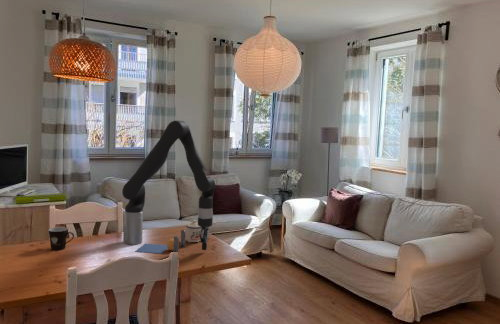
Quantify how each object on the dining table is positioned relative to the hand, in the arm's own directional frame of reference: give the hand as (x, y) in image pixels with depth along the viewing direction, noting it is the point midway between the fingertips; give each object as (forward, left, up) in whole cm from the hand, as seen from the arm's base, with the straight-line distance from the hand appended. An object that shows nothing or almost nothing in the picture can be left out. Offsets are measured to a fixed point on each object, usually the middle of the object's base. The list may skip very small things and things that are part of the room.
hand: (204, 249), depth 205 cm
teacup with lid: (-9, +20, -2) cm, 22 cm away
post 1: (-13, -6, -2) cm, 15 cm away
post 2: (-13, +6, -2) cm, 15 cm away
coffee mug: (-71, -12, -2) cm, 72 cm away
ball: (-16, 0, +2) cm, 17 cm away
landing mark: (-27, 0, -2) cm, 27 cm away
